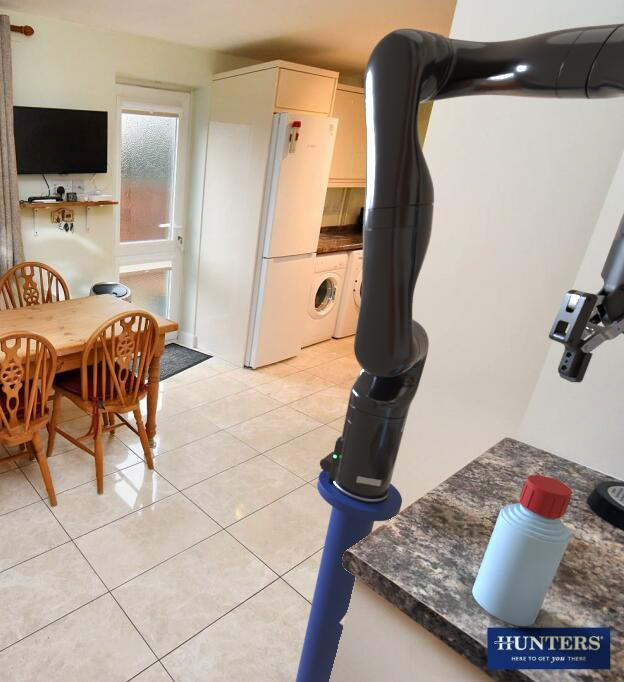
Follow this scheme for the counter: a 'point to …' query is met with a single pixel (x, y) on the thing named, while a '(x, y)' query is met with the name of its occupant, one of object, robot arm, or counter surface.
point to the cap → (545, 496)
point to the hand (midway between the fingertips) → (609, 381)
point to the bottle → (520, 564)
